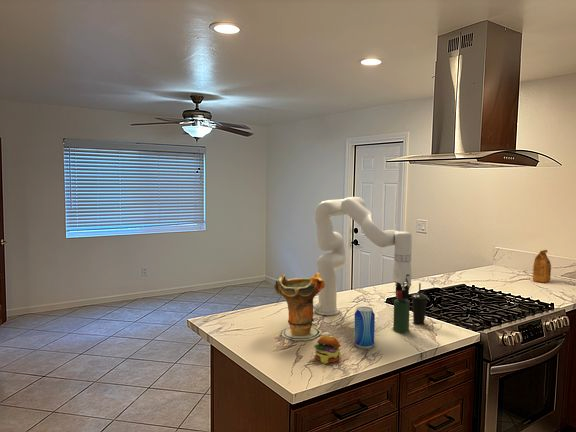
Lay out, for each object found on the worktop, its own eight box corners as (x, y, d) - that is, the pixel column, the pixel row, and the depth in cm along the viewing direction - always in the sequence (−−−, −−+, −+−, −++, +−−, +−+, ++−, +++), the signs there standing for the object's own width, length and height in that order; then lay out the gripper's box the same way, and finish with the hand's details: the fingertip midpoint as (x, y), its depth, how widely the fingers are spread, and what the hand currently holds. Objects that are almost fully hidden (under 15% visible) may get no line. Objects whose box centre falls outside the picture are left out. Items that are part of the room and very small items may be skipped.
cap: (399, 299, 189) (399, 293, 189) (394, 296, 195) (394, 290, 194) (410, 298, 191) (410, 292, 190) (404, 295, 196) (404, 289, 196)
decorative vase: (275, 325, 200) (275, 268, 198) (323, 326, 199) (323, 268, 197) (272, 342, 179) (272, 278, 177) (325, 342, 179) (326, 279, 176)
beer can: (352, 342, 179) (352, 306, 178) (371, 341, 180) (371, 305, 179) (356, 349, 171) (357, 312, 170) (376, 349, 172) (377, 311, 170)
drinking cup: (418, 326, 198) (419, 286, 197) (407, 322, 205) (408, 282, 203) (430, 324, 202) (431, 284, 200) (418, 319, 208) (419, 280, 207)
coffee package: (553, 281, 289) (554, 250, 287) (545, 284, 281) (547, 252, 280) (537, 278, 297) (539, 248, 295) (530, 281, 289) (531, 250, 287)
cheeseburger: (310, 362, 159) (312, 335, 161) (318, 358, 169) (319, 332, 170) (336, 365, 155) (337, 338, 157) (342, 361, 165) (343, 335, 167)
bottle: (397, 333, 190) (398, 294, 188) (390, 328, 197) (391, 291, 195) (411, 332, 191) (412, 294, 190) (404, 327, 198) (405, 290, 197)
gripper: (387, 255, 199) (386, 292, 200) (404, 261, 182) (403, 302, 183) (401, 254, 200) (400, 291, 202) (419, 261, 183) (418, 301, 185)
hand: (402, 296), depth 193 cm, fingers closed on cap, 5 cm apart
